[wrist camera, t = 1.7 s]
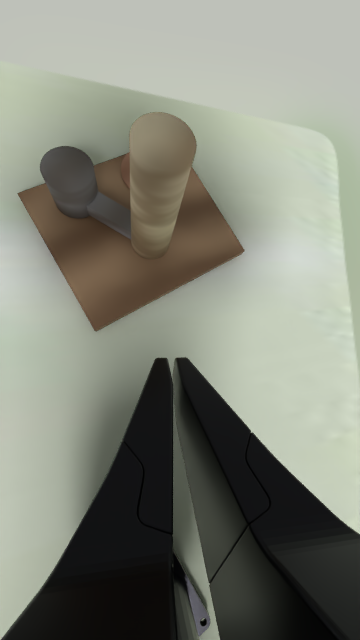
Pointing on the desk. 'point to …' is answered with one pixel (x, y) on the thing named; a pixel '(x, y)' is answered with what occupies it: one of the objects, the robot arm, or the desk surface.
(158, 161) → the crank handle
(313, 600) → the robot arm
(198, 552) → the desk surface
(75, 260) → the brown board
